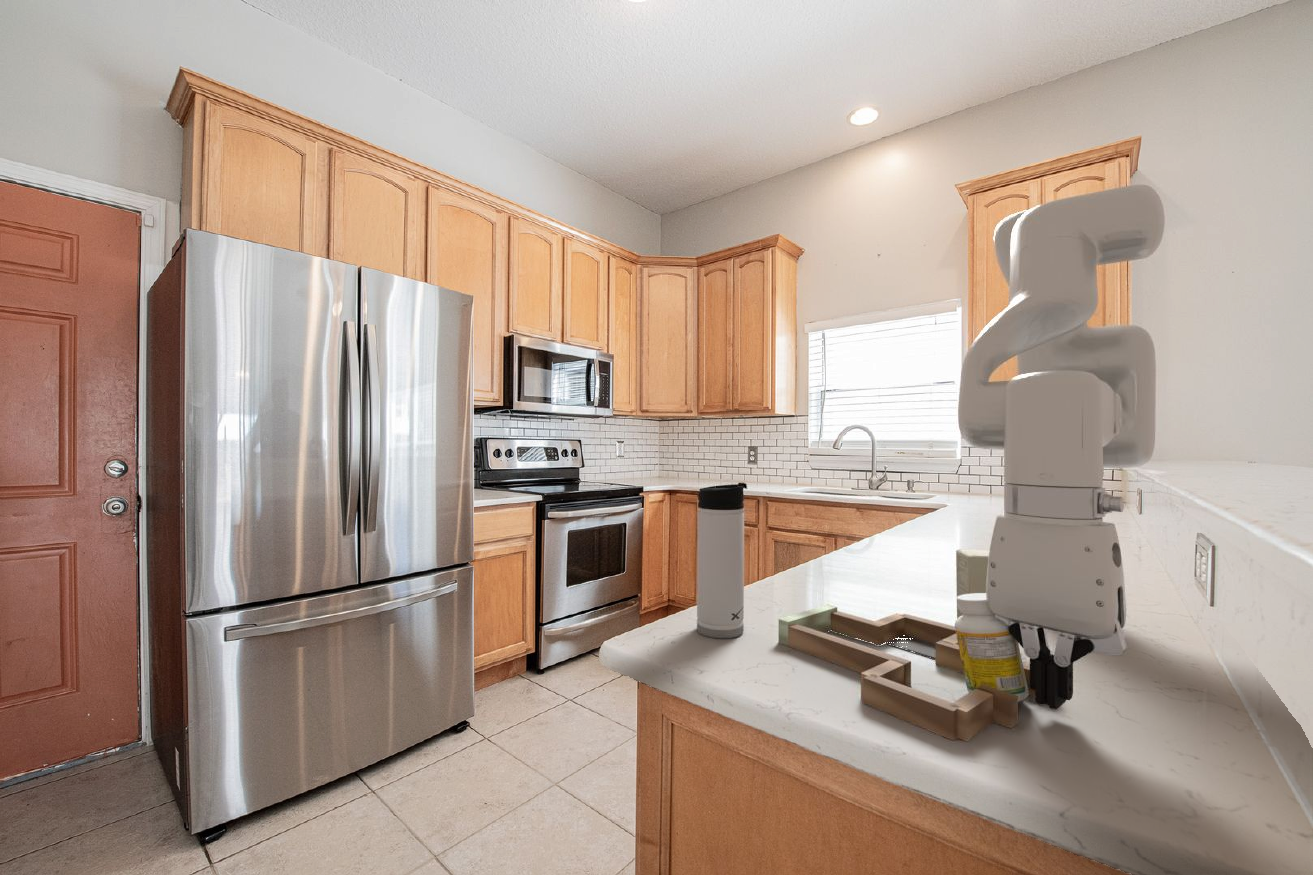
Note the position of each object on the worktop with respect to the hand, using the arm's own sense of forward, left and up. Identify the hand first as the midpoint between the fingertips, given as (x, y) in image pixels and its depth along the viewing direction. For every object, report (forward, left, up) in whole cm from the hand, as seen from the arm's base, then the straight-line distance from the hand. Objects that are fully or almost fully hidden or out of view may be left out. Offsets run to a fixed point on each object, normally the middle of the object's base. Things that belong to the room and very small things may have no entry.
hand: (1051, 701), depth 51 cm
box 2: (-18, -14, -2) cm, 23 cm away
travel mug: (+8, -36, -2) cm, 36 cm away
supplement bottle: (0, -5, -1) cm, 5 cm away
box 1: (0, -15, -2) cm, 15 cm away
